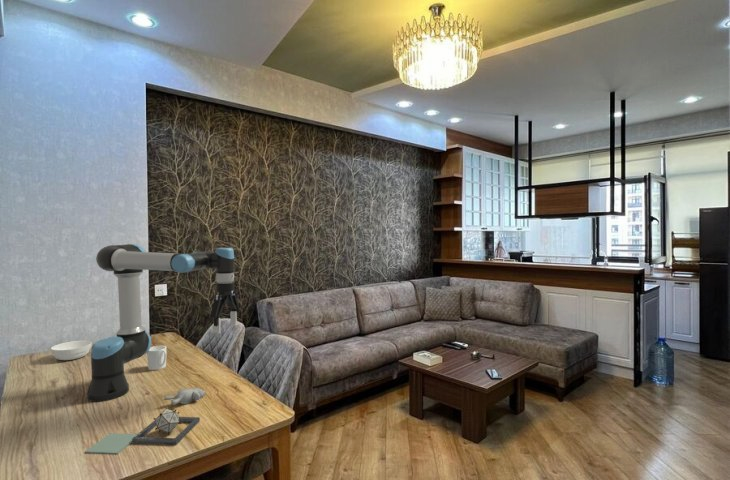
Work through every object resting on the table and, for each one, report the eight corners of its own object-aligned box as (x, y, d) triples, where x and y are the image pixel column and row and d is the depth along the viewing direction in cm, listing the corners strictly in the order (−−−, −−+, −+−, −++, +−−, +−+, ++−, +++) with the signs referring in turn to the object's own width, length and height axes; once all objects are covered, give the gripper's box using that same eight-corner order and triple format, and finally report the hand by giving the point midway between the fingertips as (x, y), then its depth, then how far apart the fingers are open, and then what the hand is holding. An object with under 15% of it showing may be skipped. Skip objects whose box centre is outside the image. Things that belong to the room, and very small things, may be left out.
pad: (85, 452, 121) (85, 451, 121) (110, 434, 132) (110, 433, 132) (117, 454, 120) (117, 452, 120) (140, 435, 131) (140, 434, 131)
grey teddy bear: (209, 389, 160) (174, 397, 148) (208, 401, 160) (173, 410, 148) (197, 383, 166) (162, 391, 154) (196, 395, 166) (161, 404, 153)
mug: (143, 369, 193) (142, 349, 193) (158, 363, 201) (158, 344, 201) (158, 372, 189) (158, 352, 189) (173, 366, 197) (173, 347, 197)
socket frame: (132, 443, 127) (132, 438, 126) (160, 419, 142) (160, 416, 142) (176, 444, 125) (176, 440, 125) (199, 421, 141) (199, 417, 141)
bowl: (98, 356, 214) (98, 343, 214) (58, 366, 198) (58, 352, 198) (84, 350, 224) (83, 338, 224) (45, 359, 208) (45, 346, 208)
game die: (164, 440, 135) (162, 411, 140) (187, 431, 135) (184, 402, 140) (149, 440, 127) (147, 409, 132) (173, 430, 128) (170, 400, 132)
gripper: (217, 286, 157) (217, 337, 157) (246, 278, 181) (246, 322, 182) (200, 286, 158) (201, 336, 158) (232, 278, 182) (232, 322, 183)
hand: (225, 329), depth 170 cm, fingers open, 13 cm apart
